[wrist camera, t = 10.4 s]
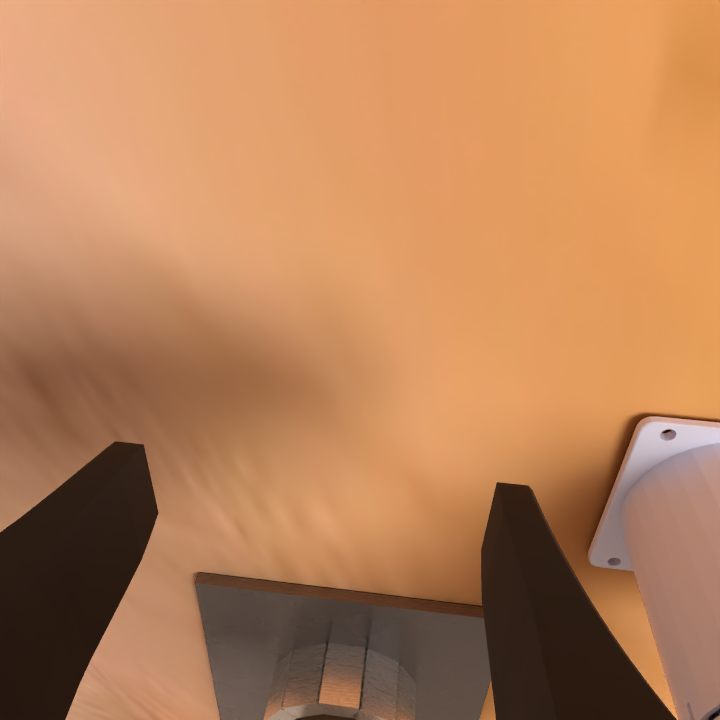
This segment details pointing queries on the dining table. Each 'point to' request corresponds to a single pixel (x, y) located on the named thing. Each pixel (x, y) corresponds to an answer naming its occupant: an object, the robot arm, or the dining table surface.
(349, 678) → the socket
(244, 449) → the dining table surface
